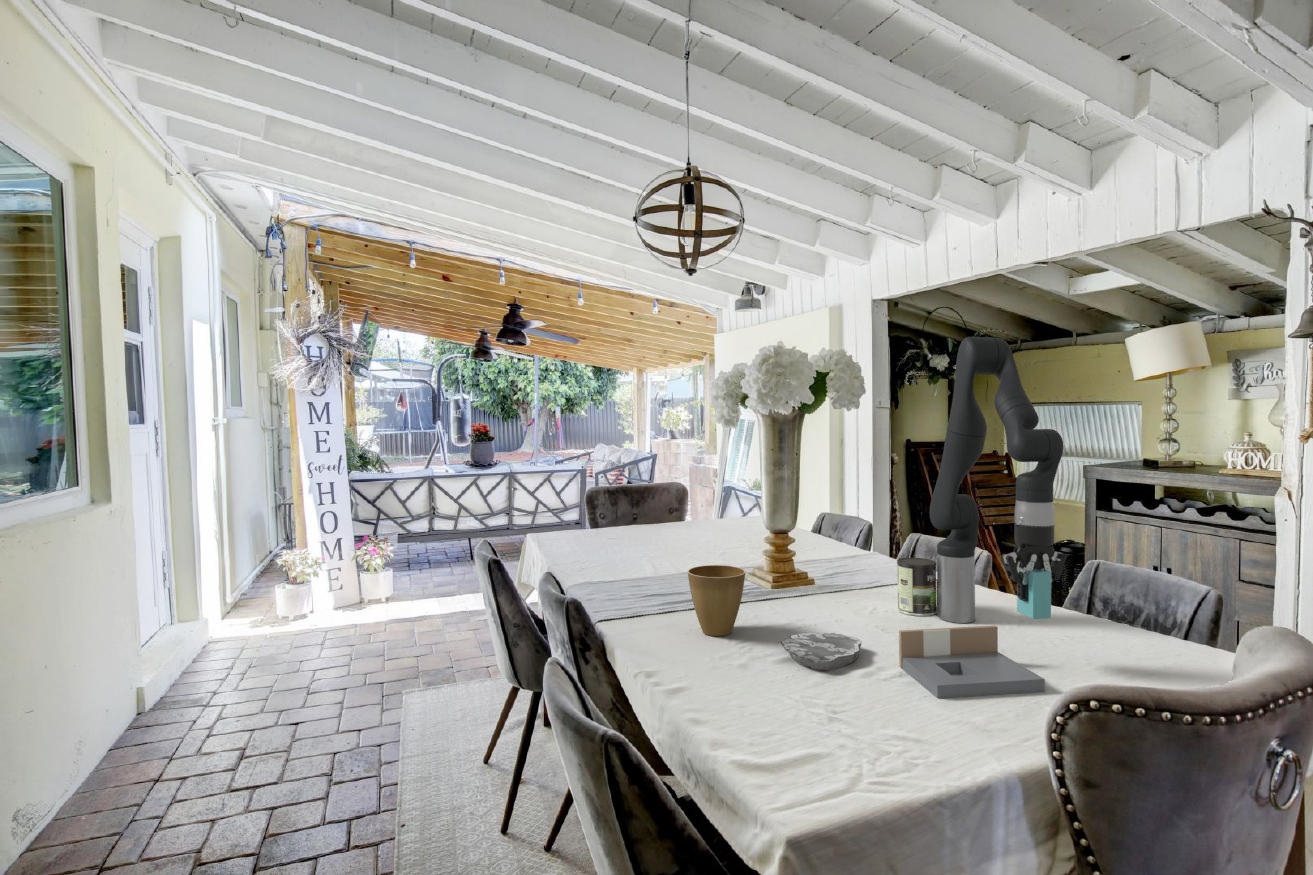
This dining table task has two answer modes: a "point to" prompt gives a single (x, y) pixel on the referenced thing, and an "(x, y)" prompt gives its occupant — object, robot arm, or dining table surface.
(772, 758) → the dining table surface
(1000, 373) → the robot arm
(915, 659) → the socket plate
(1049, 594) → the teal block
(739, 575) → the plant pot
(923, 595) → the coffee can
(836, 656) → the brain slice
